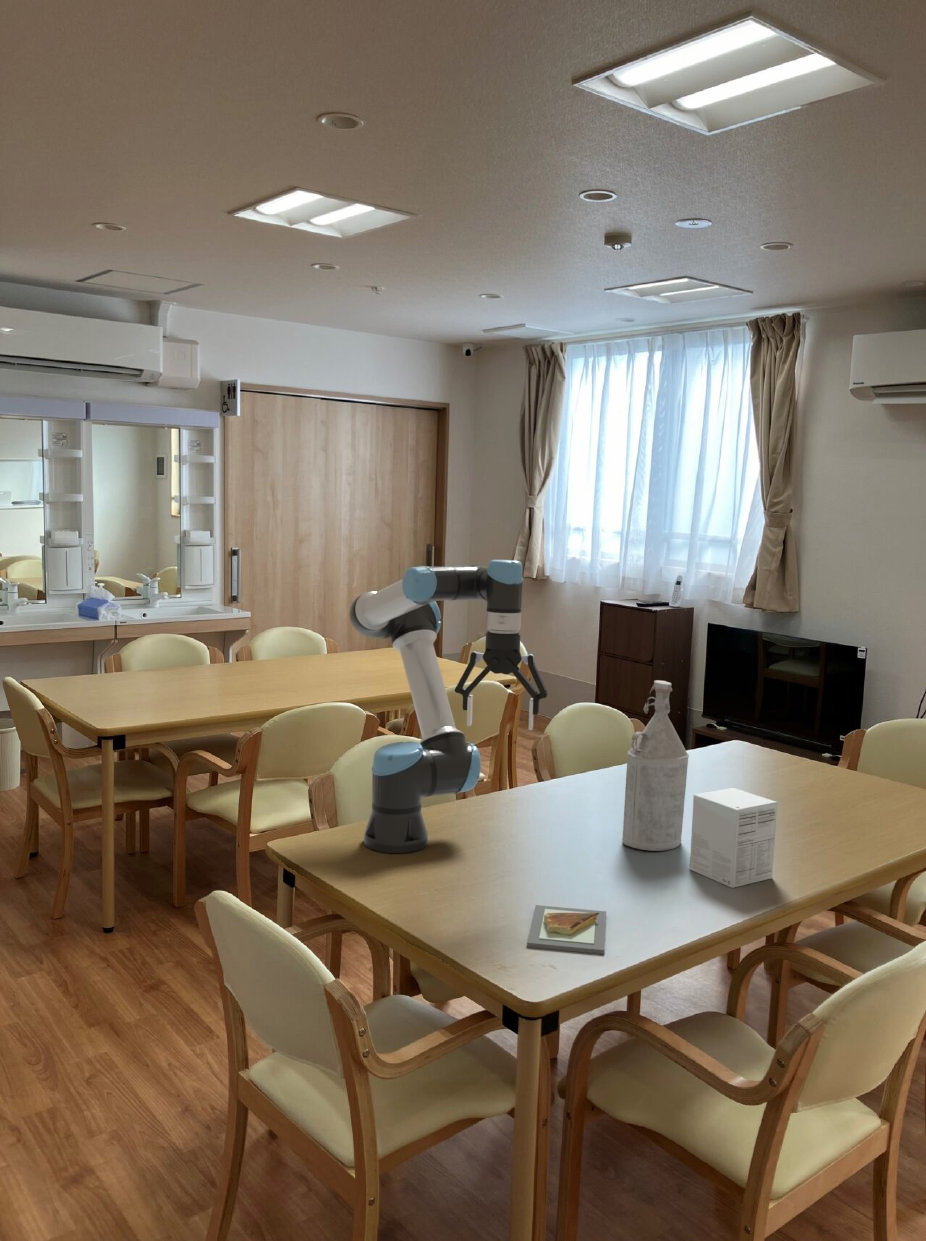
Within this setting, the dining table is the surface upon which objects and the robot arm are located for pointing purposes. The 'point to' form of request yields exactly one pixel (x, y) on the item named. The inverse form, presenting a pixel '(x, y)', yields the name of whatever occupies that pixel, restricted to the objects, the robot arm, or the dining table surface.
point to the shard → (568, 922)
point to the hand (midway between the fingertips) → (499, 727)
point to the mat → (579, 941)
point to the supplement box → (733, 836)
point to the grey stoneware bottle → (655, 781)
